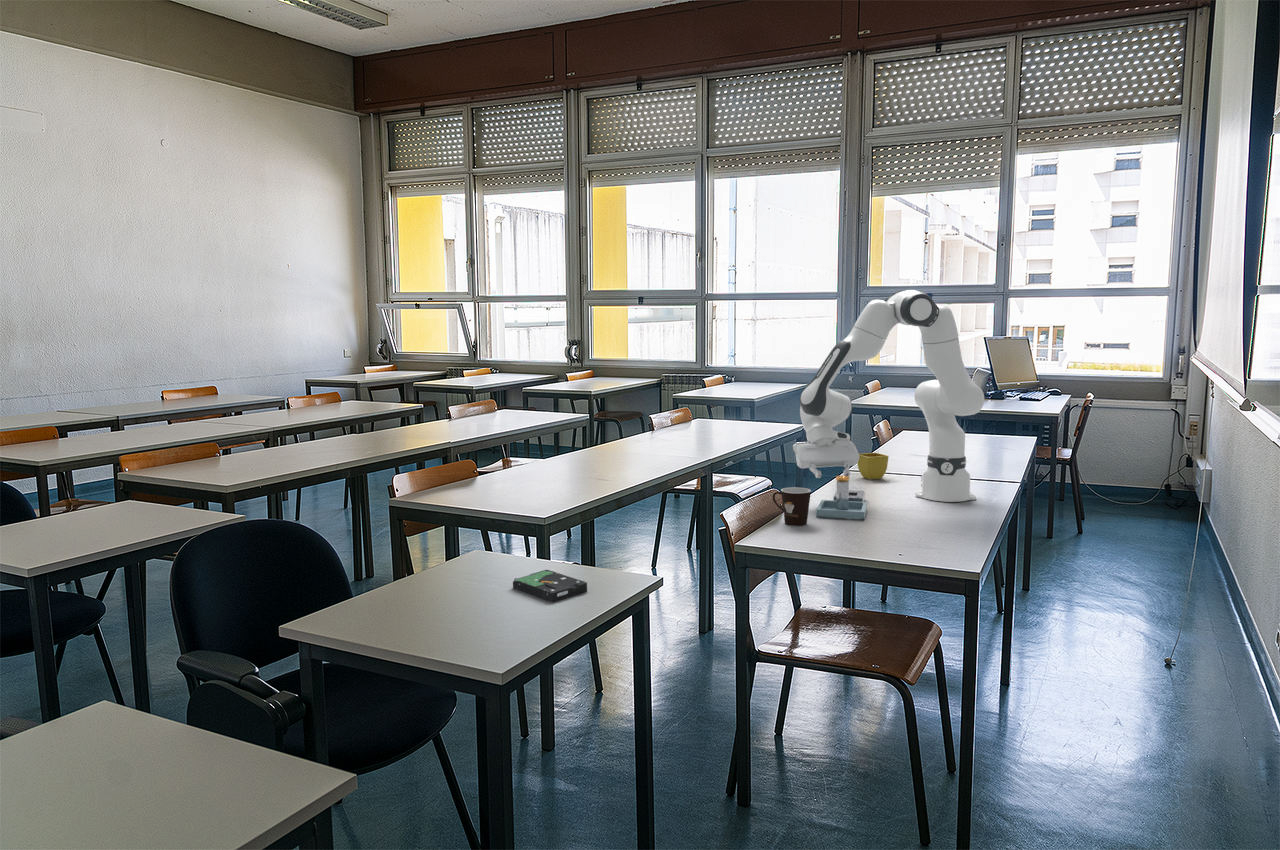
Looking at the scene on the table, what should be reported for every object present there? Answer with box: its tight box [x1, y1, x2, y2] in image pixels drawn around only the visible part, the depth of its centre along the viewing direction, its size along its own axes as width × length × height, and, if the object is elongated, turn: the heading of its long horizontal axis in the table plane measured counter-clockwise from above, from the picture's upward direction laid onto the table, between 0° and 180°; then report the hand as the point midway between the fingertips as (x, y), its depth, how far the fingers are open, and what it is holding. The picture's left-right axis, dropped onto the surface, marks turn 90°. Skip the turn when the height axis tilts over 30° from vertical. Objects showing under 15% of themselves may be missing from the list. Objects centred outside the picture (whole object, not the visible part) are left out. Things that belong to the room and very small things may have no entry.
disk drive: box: [512, 569, 588, 603], centre depth 192 cm, size 10×3×15 cm
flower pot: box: [857, 452, 889, 480], centre depth 317 cm, size 9×9×9 cm
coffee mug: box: [772, 487, 812, 527], centre depth 251 cm, size 12×9×10 cm
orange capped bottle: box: [835, 474, 850, 510], centre depth 261 cm, size 4×4×11 cm
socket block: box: [833, 489, 866, 502], centre depth 276 cm, size 12×9×3 cm
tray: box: [816, 499, 868, 520], centre depth 261 cm, size 14×14×2 cm
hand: (833, 476), depth 268 cm, fingers open, 8 cm apart
